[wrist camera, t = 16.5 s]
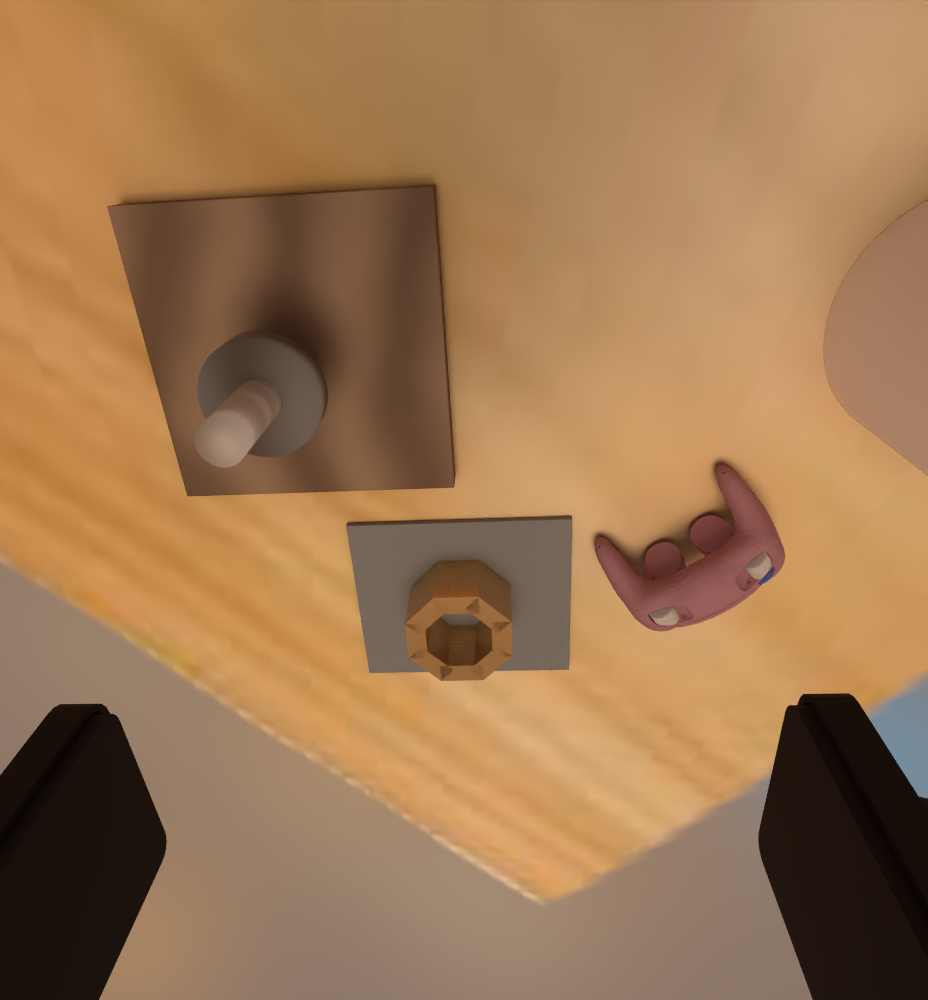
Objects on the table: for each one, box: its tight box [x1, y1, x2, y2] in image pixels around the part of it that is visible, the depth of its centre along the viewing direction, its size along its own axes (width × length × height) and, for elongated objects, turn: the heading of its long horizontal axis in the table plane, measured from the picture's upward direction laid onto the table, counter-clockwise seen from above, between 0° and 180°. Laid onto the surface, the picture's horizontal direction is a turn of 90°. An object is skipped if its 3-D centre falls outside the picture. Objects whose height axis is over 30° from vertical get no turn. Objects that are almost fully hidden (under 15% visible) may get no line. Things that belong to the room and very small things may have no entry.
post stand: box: [107, 185, 455, 496], centre depth 32 cm, size 16×16×13 cm
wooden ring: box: [405, 560, 512, 681], centre depth 43 cm, size 6×6×4 cm
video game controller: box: [595, 464, 785, 631], centre depth 40 cm, size 10×5×7 cm, turn 128°
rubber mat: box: [346, 516, 572, 673], centre depth 45 cm, size 14×12×1 cm
